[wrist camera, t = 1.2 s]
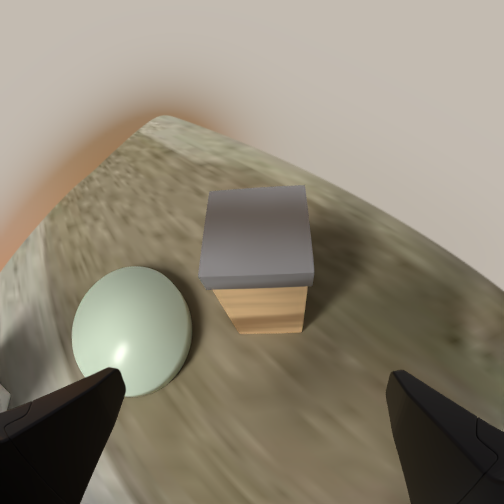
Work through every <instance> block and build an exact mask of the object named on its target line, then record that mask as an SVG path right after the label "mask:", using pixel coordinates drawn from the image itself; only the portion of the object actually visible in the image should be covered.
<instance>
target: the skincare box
mask: <svg viewBox="0 0 504 504" xmlns="http://www.w3.org/2000/svg"><path fill="white" fill-rule="evenodd" d="M10 396H11V395H10V393H9V392H8V391H7V390H6V389H5V388H4V387H3V386H2V385H1V384H0V413H1V412H4V411H7V408H8V404H9V400H10Z"/></svg>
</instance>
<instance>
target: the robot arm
mask: <svg viewBox="0 0 504 504" xmlns="http://www.w3.org/2000/svg"><path fill="white" fill-rule="evenodd" d="M125 393H126V385H125V383H124V380H123V377H122V374H121V372H120V370H119V369H117V368H112V367H107V368H105V369H103V370H101V371H99V372H96V373H94V374H92V375H90V376H88V377H86V378H83V379H81V380H79V381H77V382H74V383H72V384H70V385H68V386H66V387H63V388H61V389H59V390H56V391H54V392H52V393H50V394H47V395H45V396H43V397H40V398H38V399H36V400H33V402H32V401H31V402H28V403H26V404H24V405H21V406H18V407H16V408H13V409H10V410H7V411H4V412H1V413H0V504H80V502H81V500H82V498H83V495H84V493H85V490H86V488H87V486H88V483H89V481H90V479H91V476H92V474H93V472H94V469H95V467H96V465H97V463H98V460H99V458H100V456H101V454H102V451H103V449H104V447H105V445H106V443H107V440H108V438H109V436H110V434H111V432H112V430H113V427H114V425H115V422H116V420H117V417H118V414H119V411H120V408H121V405H122V402H123V399H124V396H125ZM386 400H387V405H388V411H389V416H390V422H391V428H392V433H393V437H394V441H395V445H396V448H397V452H398V455H399V459H400V462H401V466H402V470H403V473H404V477H405V481H406V485H407V489H408V493H409V497H410V502H411V504H504V432H503V431H501V430H499V429H497V428H495V427H494V426H492V425H490V424H488V423H487V422H485V421H483V420H482V419H480V418H477V416H475V415H474V414H472V413H470V412H469V411H467V410H466V409H464V408H463V407H461V406H459V405H458V404H456V403H455V402H453V401H451V400H450V399H448V398H447V397H445V396H444V395H442V394H440V393H439V392H437V391H436V390H434V389H433V388H431V387H429V386H428V385H426V384H425V383H423V382H422V381H420V380H418V379H417V378H415V377H414V376H412V375H411V374H409V373H408V372H406V371H404V370H397V371H392V372H391V374H390V376H389V381H388V385H387V389H386Z"/></svg>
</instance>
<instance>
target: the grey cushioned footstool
mask: <svg viewBox="0 0 504 504" xmlns="http://www.w3.org/2000/svg"><path fill="white" fill-rule="evenodd" d="M198 278H199V279H200V281H201V282H202V284H203V285H204V287H205V288H206V290H213V291H214V293H215V295H216V296H217V298H218V300H219V301H220V303H221V305H222V306H223V308H224V310H225V311H226V313H227V314H228V316H229V318H230V319H231V321H232V323H233V324H234V326H235V327H236V329H237V330H238V332H239V334H267V333H297V332H302V327H303V320H304V312H305V305H306V297H307V288H308V286H312V285H313V279H314V263H313V252H312V242H311V233H310V224H309V215H308V207H307V199H306V191H305V185H298V186H278V187H261V188H246V189H233V190H221V191H210V192H209V198H208V205H207V212H206V219H205V226H204V234H203V241H202V249H201V257H200V266H199V274H198Z"/></svg>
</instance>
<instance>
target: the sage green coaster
mask: <svg viewBox="0 0 504 504" xmlns="http://www.w3.org/2000/svg"><path fill="white" fill-rule="evenodd" d="M191 340H192V319H191V315H190V311H189V308H188V305H187V303H186V301H185V299H184V297H183V296H182V294H181V293H180V291H179V290H178V289H177V288H176V287H175V285H174V284H173V283H172V282H171V281H170V280H169V279H168V278H167V277H166V276H164V275H163V274H161V273H160V272H158V271H156V270H153V269H150V268H146V267H139V266H133V267H125V268H121V269H118V270H115V271H113V272H111V273H109V274H107V275H106V276H104V277H102V278H101V279H100V280H99V281H97V282H96V283H95V284H94V285H93V286H92V287H91V288H90V290H89V291H88V292H87V293H86V295H85V296H84V298H83V299H82V301H81V303H80V305H79V307H78V309H77V312H76V315H75V318H74V322H73V328H72V346H73V352H74V356H75V359H76V362H77V364H78V366H79V368H80V370H81V372H82V373H83V375H84V376H85V377H88V376H90V375H92V374H94V373H96V372H99V371H101V370H103V369H105V368H107V367H112V368H117V369H119V370H120V372H121V374H122V377H123V380H124V383H125V385H126V393H125V396H124V397H141V396H146V395H149V394H152V393H154V392H156V391H158V390H160V389H161V388H163V387H164V386H166V385H167V384H168V383H169V382H170V381H171V380H172V379H173V378H174V377H175V376H176V375H177V373H178V372H179V371H180V369H181V367H182V366H183V364H184V362H185V360H186V358H187V356H188V352H189V349H190V346H191Z"/></svg>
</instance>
